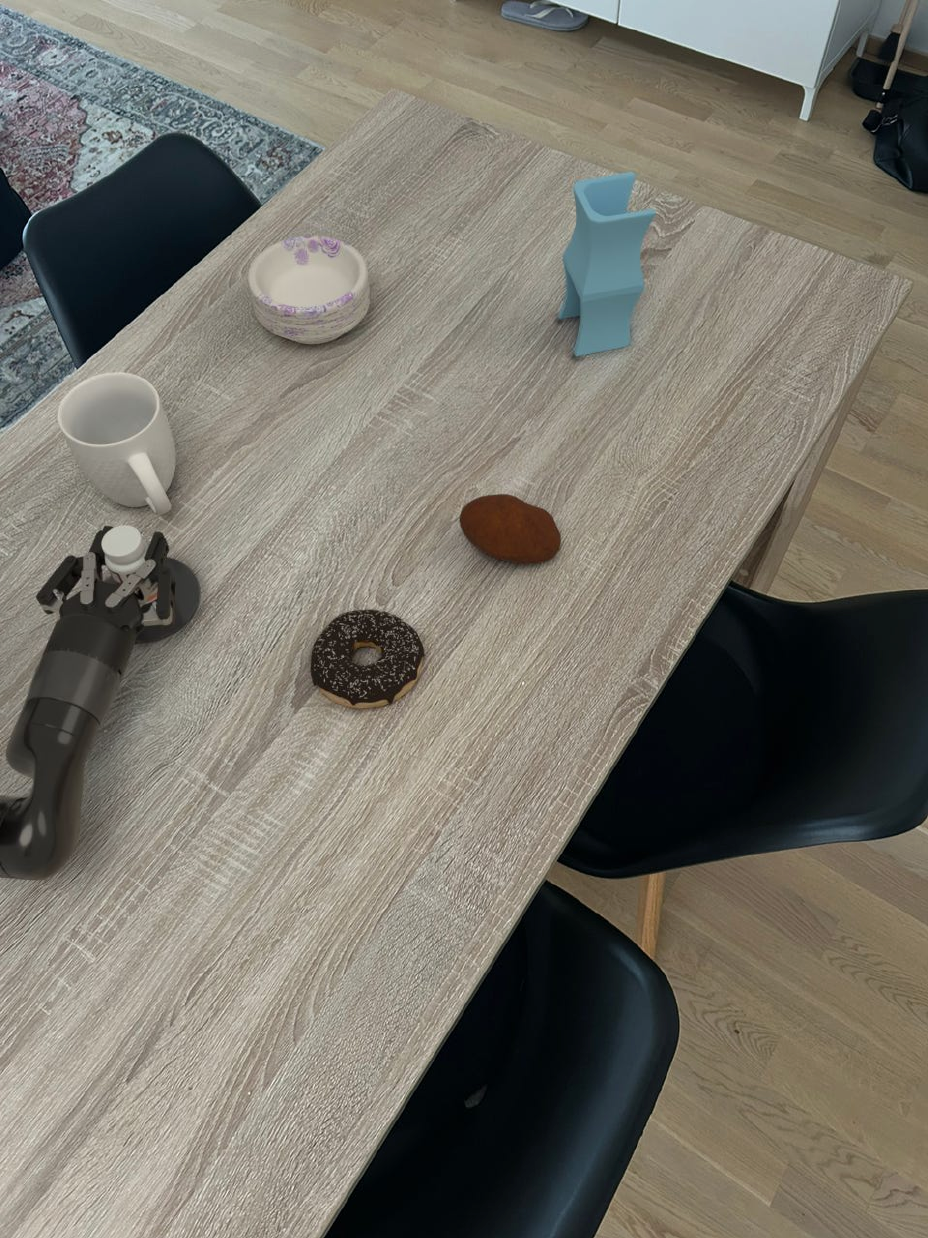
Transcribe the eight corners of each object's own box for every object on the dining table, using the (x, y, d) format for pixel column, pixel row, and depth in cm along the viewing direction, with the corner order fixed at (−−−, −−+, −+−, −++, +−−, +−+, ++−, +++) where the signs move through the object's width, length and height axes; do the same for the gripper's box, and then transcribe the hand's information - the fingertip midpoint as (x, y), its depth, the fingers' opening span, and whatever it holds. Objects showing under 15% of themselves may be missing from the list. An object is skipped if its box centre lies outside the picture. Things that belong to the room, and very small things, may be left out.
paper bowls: (352, 269, 143) (346, 220, 136) (387, 343, 135) (383, 294, 128) (244, 297, 140) (233, 247, 133) (274, 373, 132) (263, 325, 126)
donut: (314, 625, 112) (309, 604, 109) (423, 619, 113) (422, 599, 109) (312, 716, 106) (307, 698, 103) (427, 710, 107) (426, 692, 103)
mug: (219, 516, 120) (193, 439, 109) (132, 560, 117) (96, 486, 106) (162, 436, 127) (133, 356, 116) (78, 476, 124) (39, 398, 113)
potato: (553, 585, 115) (558, 542, 108) (451, 568, 116) (450, 525, 109) (563, 531, 119) (569, 486, 112) (465, 515, 120) (464, 470, 113)
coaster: (88, 640, 112) (86, 637, 111) (112, 556, 117) (111, 554, 117) (189, 645, 111) (188, 642, 111) (209, 561, 117) (208, 558, 116)
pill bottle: (169, 570, 113) (149, 522, 106) (160, 606, 110) (139, 560, 103) (126, 568, 113) (103, 520, 106) (116, 605, 111) (92, 558, 103)
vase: (633, 345, 135) (657, 212, 118) (575, 356, 134) (590, 223, 117) (614, 305, 139) (634, 170, 122) (557, 315, 138) (569, 181, 121)
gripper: (22, 684, 103) (82, 547, 112) (161, 702, 102) (210, 562, 111) (-8, 644, 97) (58, 502, 106) (141, 663, 95) (195, 518, 104)
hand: (136, 534), depth 108 cm, fingers closed on pill bottle, 4 cm apart
